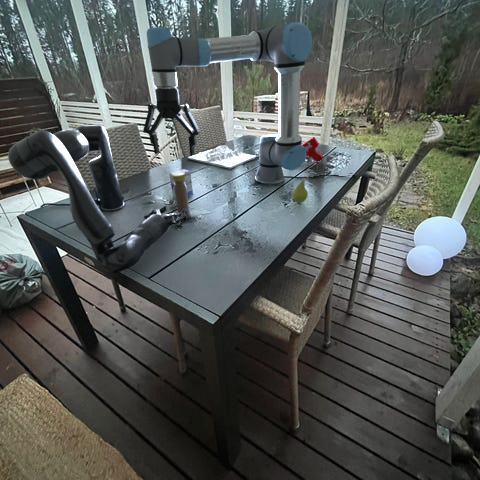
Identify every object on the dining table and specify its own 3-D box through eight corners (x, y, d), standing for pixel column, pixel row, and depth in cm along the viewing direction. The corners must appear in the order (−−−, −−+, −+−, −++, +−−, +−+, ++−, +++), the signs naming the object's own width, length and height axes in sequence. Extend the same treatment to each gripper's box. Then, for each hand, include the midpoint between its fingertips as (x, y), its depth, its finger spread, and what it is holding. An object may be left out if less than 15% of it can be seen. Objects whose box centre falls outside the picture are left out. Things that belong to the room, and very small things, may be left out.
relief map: (229, 168, 161) (229, 160, 158) (188, 158, 179) (187, 150, 176) (255, 158, 179) (255, 150, 177) (215, 150, 197) (215, 142, 194)
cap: (187, 179, 101) (186, 174, 100) (175, 182, 99) (175, 176, 98) (182, 176, 104) (181, 170, 103) (171, 178, 102) (170, 173, 101)
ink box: (187, 192, 132) (184, 168, 125) (193, 195, 129) (190, 170, 122) (172, 197, 127) (168, 172, 120) (178, 200, 124) (174, 175, 117)
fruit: (288, 200, 123) (290, 174, 116) (302, 197, 125) (305, 172, 119) (296, 206, 118) (299, 179, 111) (310, 203, 120) (314, 177, 114)
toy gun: (326, 156, 168) (314, 136, 164) (326, 158, 165) (313, 137, 161) (301, 172, 178) (289, 152, 174) (300, 174, 175) (288, 154, 171)
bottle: (191, 217, 110) (187, 175, 100) (181, 220, 108) (175, 177, 98) (187, 213, 113) (181, 171, 104) (176, 216, 111) (170, 174, 101)
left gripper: (169, 223, 86) (191, 202, 99) (130, 217, 89) (157, 197, 102) (172, 242, 90) (193, 220, 103) (135, 236, 93) (160, 215, 106)
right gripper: (206, 87, 90) (210, 152, 101) (135, 86, 93) (147, 149, 104) (199, 88, 84) (204, 158, 95) (124, 88, 87) (138, 155, 98)
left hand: (175, 209), depth 103 cm, fingers open, 8 cm apart
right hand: (174, 153), depth 100 cm, fingers open, 13 cm apart
